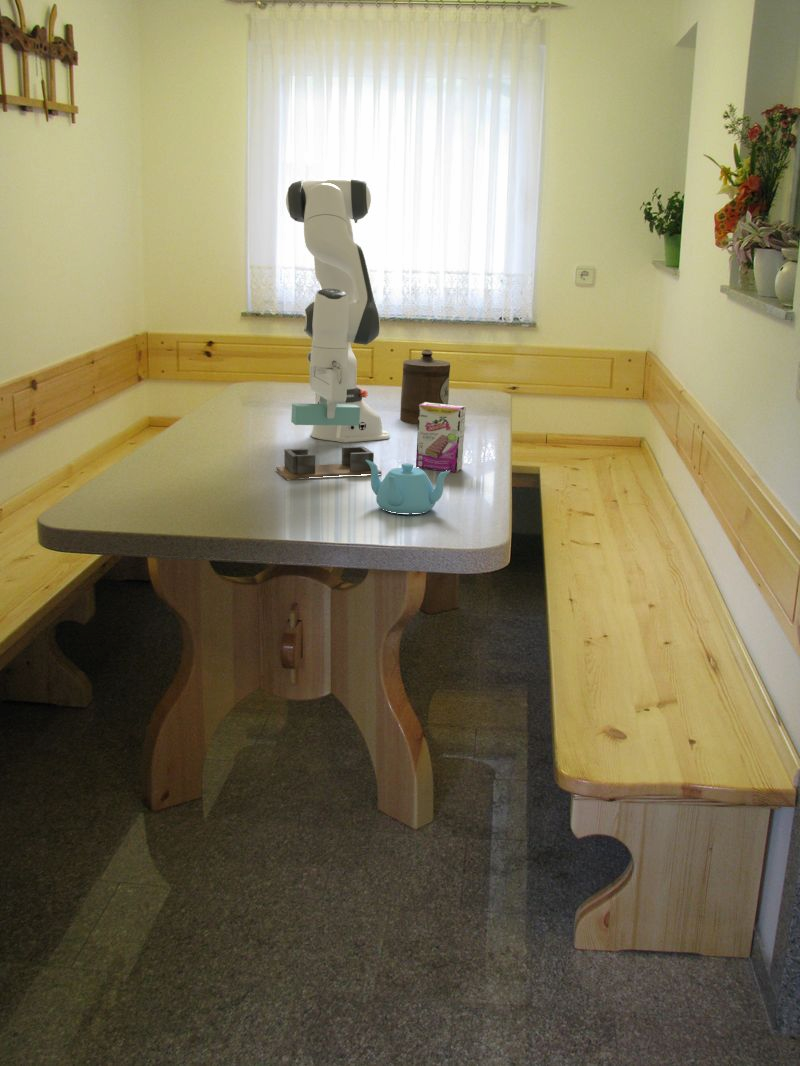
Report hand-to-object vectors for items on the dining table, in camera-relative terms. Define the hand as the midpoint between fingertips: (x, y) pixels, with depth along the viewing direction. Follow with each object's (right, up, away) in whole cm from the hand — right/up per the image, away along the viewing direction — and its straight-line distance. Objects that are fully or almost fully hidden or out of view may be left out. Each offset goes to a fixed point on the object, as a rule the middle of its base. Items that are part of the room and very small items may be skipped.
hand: (326, 415), depth 268 cm
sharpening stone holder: (0, -14, +4) cm, 14 cm away
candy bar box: (+28, -12, +13) cm, 33 cm away
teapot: (+19, -24, -27) cm, 40 cm away
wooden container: (+25, +7, +78) cm, 82 cm away
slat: (0, -2, 0) cm, 2 cm away
